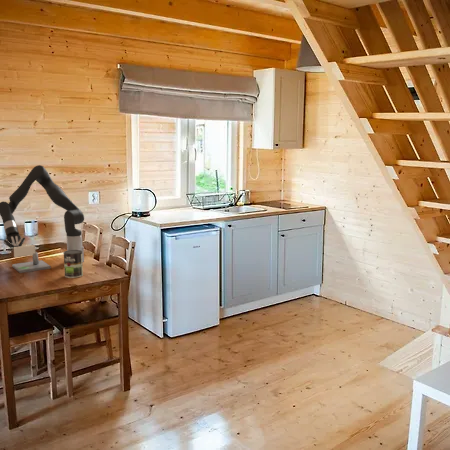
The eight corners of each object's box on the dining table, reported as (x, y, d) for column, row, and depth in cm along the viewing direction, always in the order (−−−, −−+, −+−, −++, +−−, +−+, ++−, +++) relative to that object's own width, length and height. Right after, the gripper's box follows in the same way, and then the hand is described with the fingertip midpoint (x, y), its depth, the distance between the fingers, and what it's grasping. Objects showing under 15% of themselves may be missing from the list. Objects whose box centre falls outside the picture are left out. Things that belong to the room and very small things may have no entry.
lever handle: (37, 262, 316) (36, 244, 314) (39, 263, 313) (38, 245, 311) (14, 265, 308) (13, 246, 306) (15, 267, 305) (14, 247, 303)
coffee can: (77, 278, 287) (76, 254, 285) (61, 277, 290) (59, 253, 287) (86, 273, 297) (85, 250, 295) (70, 272, 300) (69, 249, 297)
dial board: (42, 262, 324) (42, 260, 323) (50, 268, 309) (50, 265, 309) (12, 266, 313) (12, 264, 313) (19, 272, 299) (19, 270, 299)
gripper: (21, 231, 325) (27, 254, 317) (-1, 234, 318) (5, 257, 310) (23, 224, 320) (29, 247, 312) (0, 227, 312) (6, 250, 305)
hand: (17, 252), depth 311 cm, fingers closed
